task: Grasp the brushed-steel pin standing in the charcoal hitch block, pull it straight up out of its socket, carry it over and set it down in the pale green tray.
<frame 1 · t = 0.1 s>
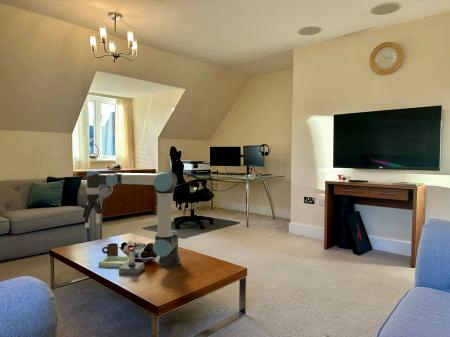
hand: (92, 225, 205), 28 cm above the table, fingers open, 13 cm apart
pin: (131, 259, 199), in the hitch block
mug: (109, 258, 224), on the table
tray: (116, 263, 212), on the table
hitch block: (131, 271, 199), on the table
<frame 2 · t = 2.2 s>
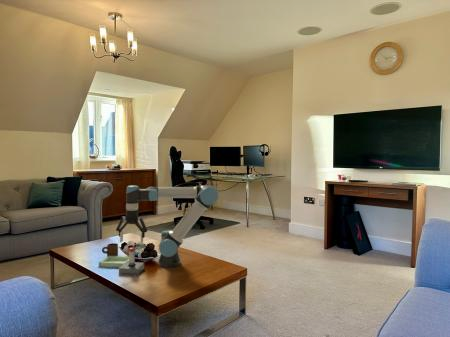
hand: (131, 242, 198), 19 cm above the table, fingers open, 13 cm apart
nothing on the table moved.
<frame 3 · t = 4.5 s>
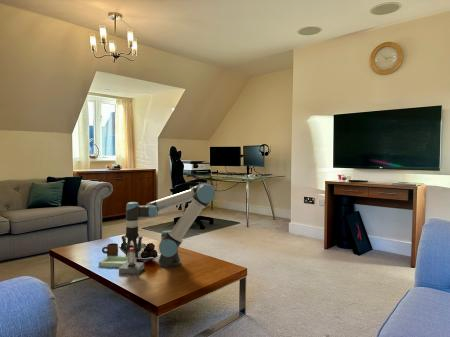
hand: (131, 262, 199), 6 cm above the table, fingers closed on pin, 3 cm apart
pin: (131, 259, 199), in the hitch block, touching gripper
everything else where it was.
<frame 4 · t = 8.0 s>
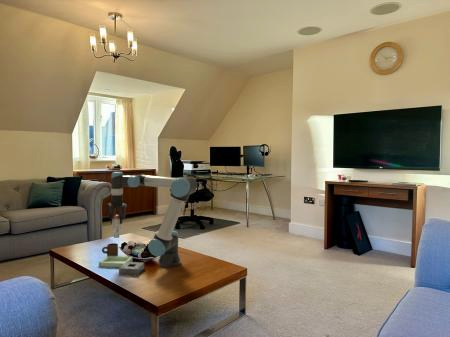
hand: (116, 228, 211), 25 cm above the table, fingers closed on pin, 3 cm apart
pin: (116, 226, 211), point 26 cm above the table, touching gripper
everything else where it was.
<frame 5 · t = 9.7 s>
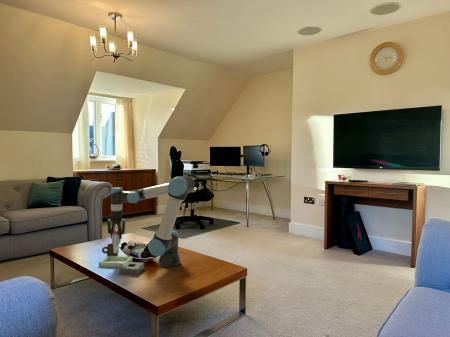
hand: (116, 243, 212), 14 cm above the table, fingers closed on pin, 3 cm apart
pin: (116, 241, 212), point 16 cm above the table, touching gripper
everything else where it was.
when the fingers open (7 cm above the table, at t = 11.4 s): pin stays where it is, resting on tray.
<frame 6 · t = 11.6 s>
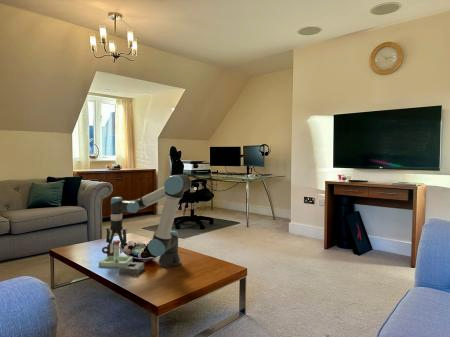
hand: (116, 252, 212), 8 cm above the table, fingers open, 6 cm apart
pin: (116, 252, 212), in the tray, point 8 cm above the table
everything else where it was.
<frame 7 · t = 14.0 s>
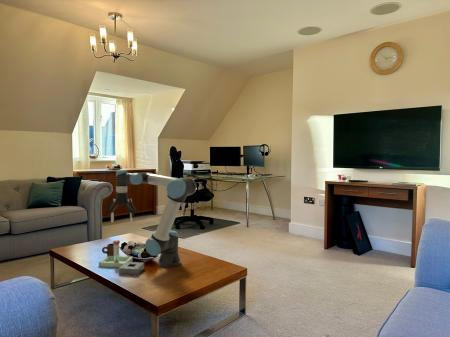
hand: (121, 222, 216), 28 cm above the table, fingers open, 13 cm apart
nothing on the table moved.
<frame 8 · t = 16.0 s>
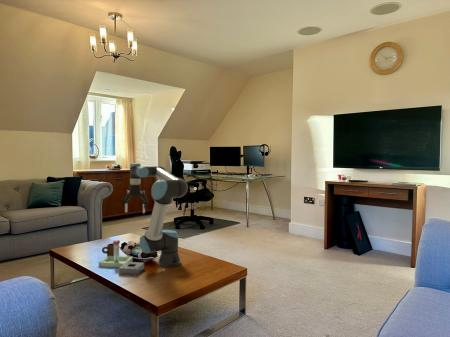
hand: (135, 212, 229), 33 cm above the table, fingers open, 13 cm apart
nothing on the table moved.
at the end: pin inside the target area on the tray (0.1 cm from its centre), point 8.2 cm above the tray's base; pin touching tray; the gripper is holding nothing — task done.
